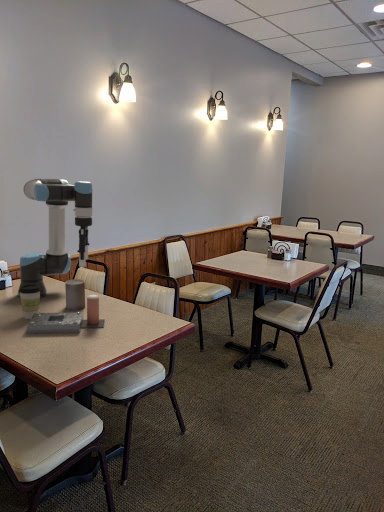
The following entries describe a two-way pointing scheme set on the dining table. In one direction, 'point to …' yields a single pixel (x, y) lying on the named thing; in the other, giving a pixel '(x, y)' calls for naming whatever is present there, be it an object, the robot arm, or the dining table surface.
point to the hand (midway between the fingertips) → (83, 262)
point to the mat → (100, 325)
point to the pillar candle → (75, 294)
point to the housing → (55, 323)
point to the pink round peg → (92, 309)
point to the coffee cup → (30, 299)
